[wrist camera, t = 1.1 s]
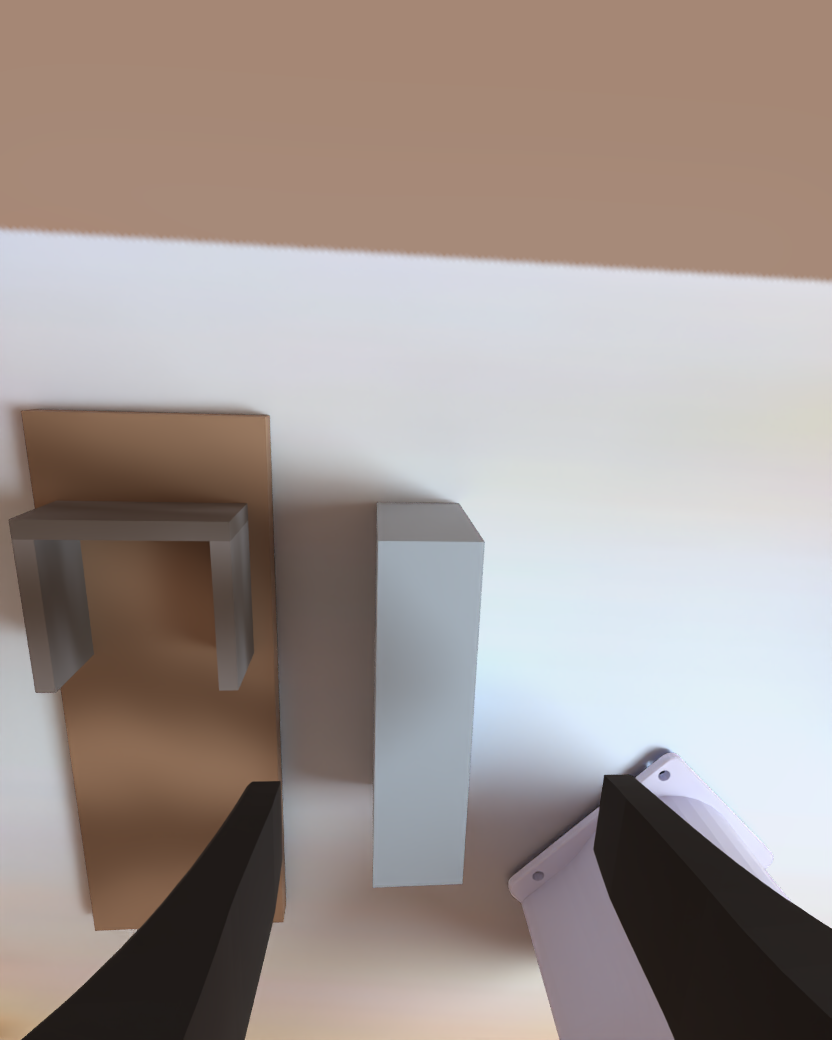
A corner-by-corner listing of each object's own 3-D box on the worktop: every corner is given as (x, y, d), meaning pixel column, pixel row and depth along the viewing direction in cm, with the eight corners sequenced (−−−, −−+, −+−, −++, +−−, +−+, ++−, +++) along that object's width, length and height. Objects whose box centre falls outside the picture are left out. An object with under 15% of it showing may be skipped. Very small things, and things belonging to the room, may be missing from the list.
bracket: (286, 904, 24) (273, 984, 21) (104, 912, 24) (62, 995, 21) (269, 415, 19) (249, 423, 16) (35, 409, 18) (-35, 416, 15)
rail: (444, 779, 24) (462, 884, 19) (372, 781, 23) (372, 887, 19) (458, 502, 21) (484, 541, 16) (376, 501, 20) (378, 540, 16)
